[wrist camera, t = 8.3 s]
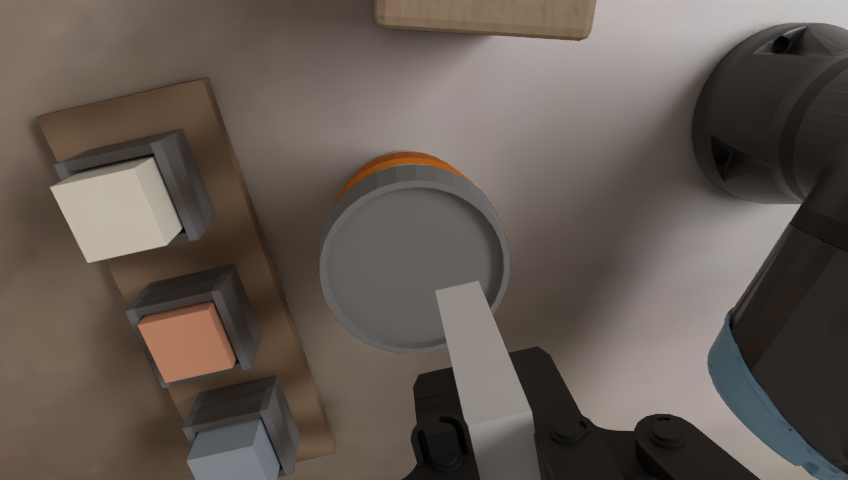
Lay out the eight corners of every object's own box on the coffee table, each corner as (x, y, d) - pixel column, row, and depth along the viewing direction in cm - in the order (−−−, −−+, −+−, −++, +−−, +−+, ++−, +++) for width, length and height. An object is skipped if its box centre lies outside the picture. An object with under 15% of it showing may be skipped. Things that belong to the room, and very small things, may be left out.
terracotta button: (161, 295, 46) (137, 325, 41) (224, 280, 46) (208, 309, 41) (185, 348, 48) (165, 383, 43) (246, 335, 48) (232, 368, 43)
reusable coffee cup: (344, 115, 44) (330, 157, 30) (489, 144, 46) (539, 196, 32) (322, 253, 48) (301, 344, 35) (456, 274, 50) (487, 368, 37)
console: (46, 113, 42) (-9, 128, 36) (207, 77, 42) (180, 86, 36) (215, 469, 56) (197, 522, 50) (335, 442, 57) (330, 492, 51)
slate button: (204, 419, 49) (186, 460, 44) (264, 405, 49) (252, 445, 44) (225, 465, 51) (210, 509, 46) (282, 452, 51) (273, 494, 46)
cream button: (87, 168, 39) (49, 187, 35) (161, 151, 39) (133, 168, 35) (119, 236, 42) (87, 263, 37) (189, 221, 42) (166, 245, 37)
